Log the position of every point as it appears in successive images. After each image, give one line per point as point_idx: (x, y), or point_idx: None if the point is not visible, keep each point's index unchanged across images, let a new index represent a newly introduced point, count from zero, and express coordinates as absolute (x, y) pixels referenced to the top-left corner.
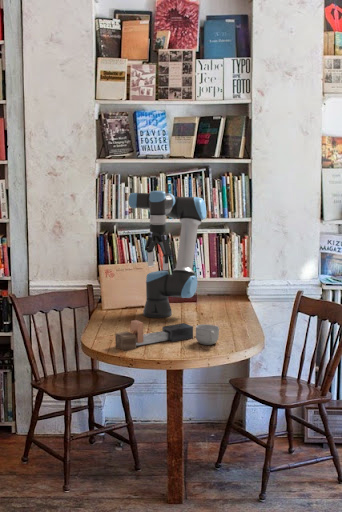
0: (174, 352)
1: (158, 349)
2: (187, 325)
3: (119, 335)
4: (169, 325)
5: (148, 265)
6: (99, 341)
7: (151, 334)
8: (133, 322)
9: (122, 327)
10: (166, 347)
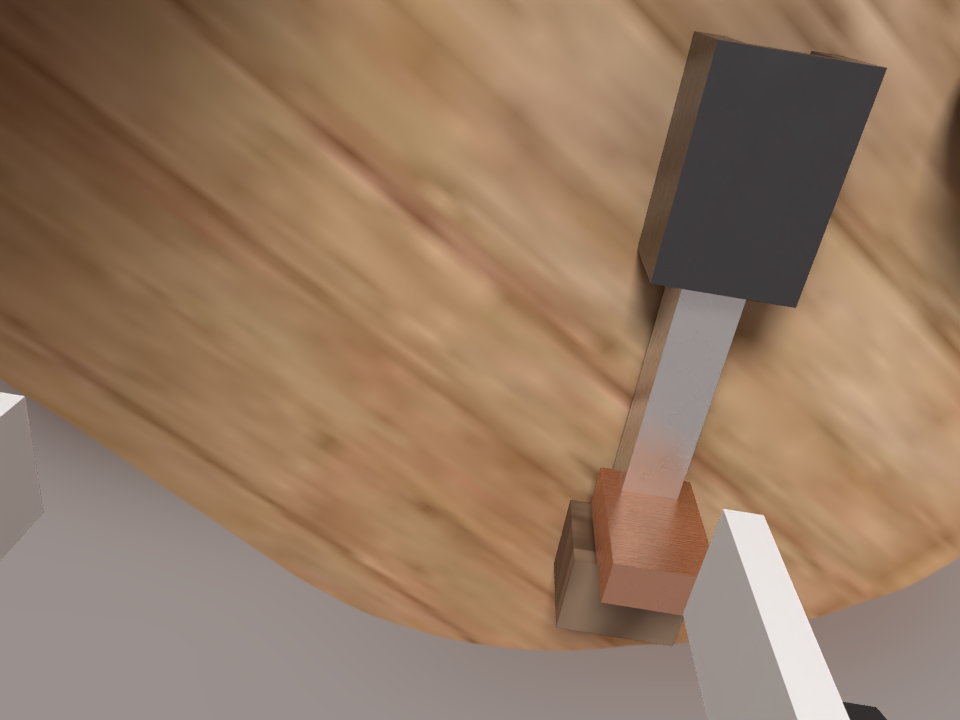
0: (947, 418)
1: (810, 443)
2: (812, 81)
3: (611, 633)
4: (671, 213)
5: (27, 521)
6: (401, 561)
7: (681, 419)
8: (642, 606)
9: (181, 269)
10: (826, 381)
